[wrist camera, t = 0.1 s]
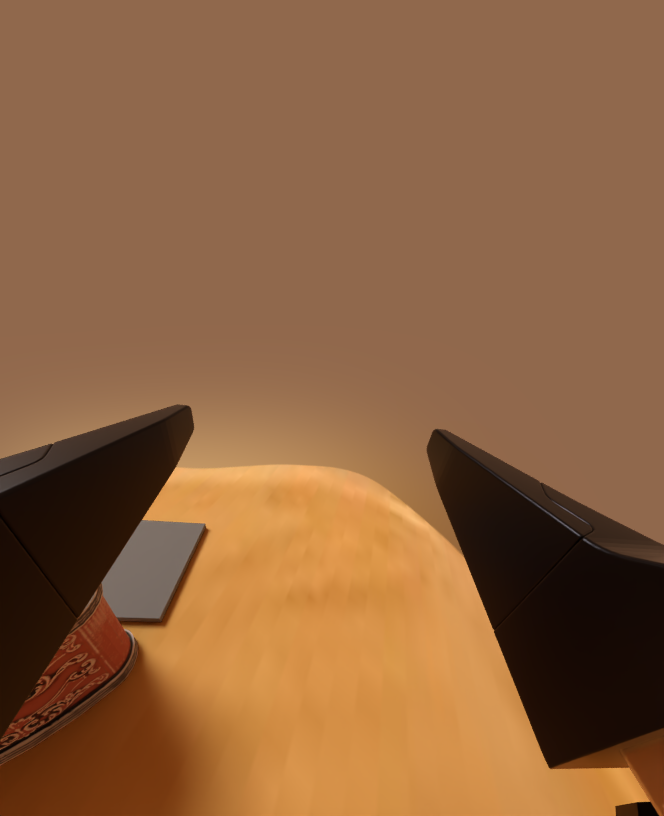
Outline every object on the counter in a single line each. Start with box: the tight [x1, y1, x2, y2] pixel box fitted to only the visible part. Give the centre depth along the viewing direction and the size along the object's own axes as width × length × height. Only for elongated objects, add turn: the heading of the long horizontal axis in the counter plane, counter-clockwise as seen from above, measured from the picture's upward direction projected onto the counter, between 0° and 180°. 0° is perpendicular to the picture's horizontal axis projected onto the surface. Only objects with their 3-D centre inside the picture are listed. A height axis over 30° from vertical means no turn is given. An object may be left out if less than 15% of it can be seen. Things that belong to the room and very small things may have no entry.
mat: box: [102, 520, 206, 622], centre depth 19 cm, size 7×12×1 cm, turn 91°
